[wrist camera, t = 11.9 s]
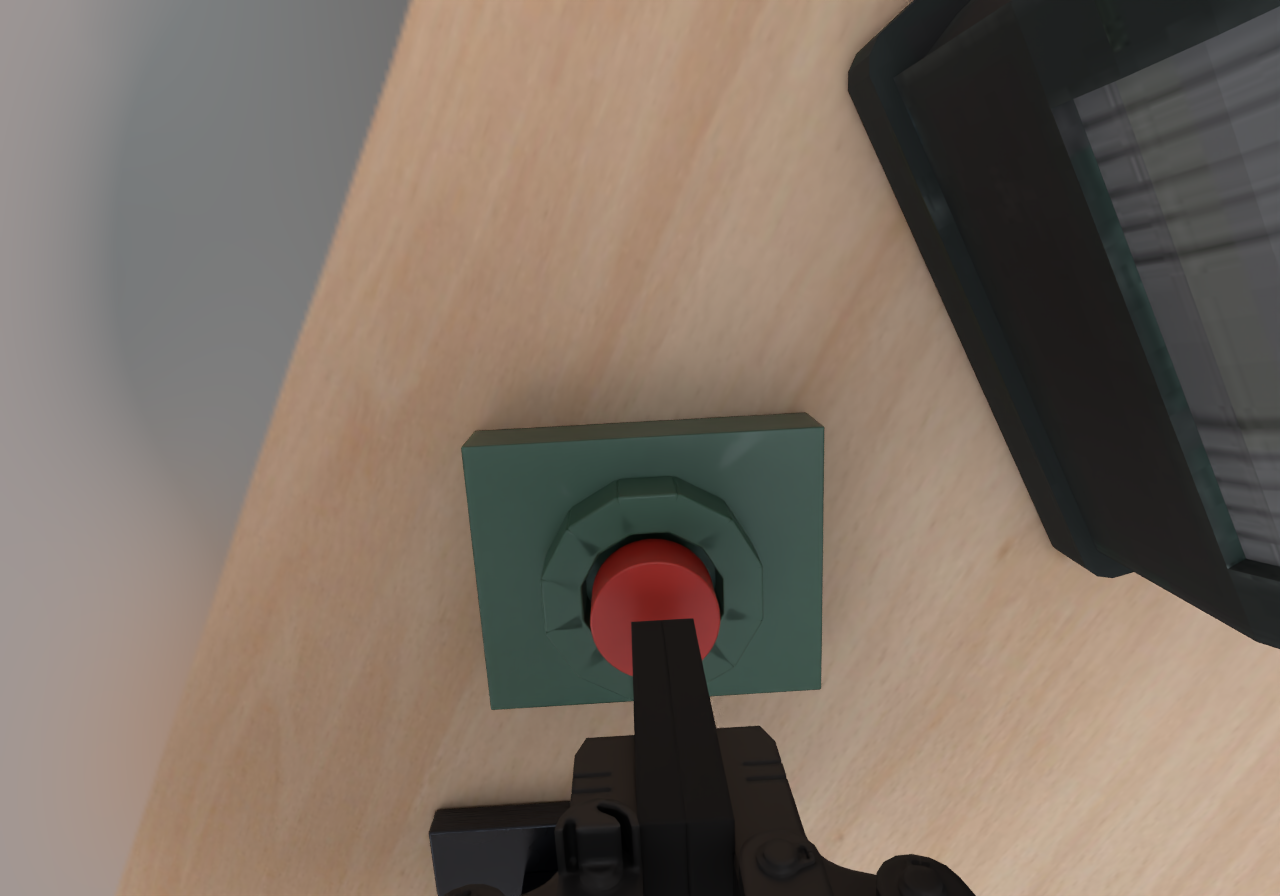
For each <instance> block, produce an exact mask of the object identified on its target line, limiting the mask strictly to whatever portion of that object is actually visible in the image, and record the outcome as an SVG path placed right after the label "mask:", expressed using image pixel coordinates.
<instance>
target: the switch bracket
mask: <svg viewBox="0 0 1280 896" xmlns="http://www.w3.org/2000/svg"><path fill="white" fill-rule="evenodd" d="M570 803H571V801H570V802H555V803H539V804H524V805H508V806H493V807H478V808H462V809H447V810H437V811H436V812H435V815H434V819H433V822H432V825H431V828H430V831H429V839H430V846H431V853H432V860H433V867H434V874H435V880H436V887H437V894H438V896H444V895H445V894H447V893H448V892H449V891H451V890H453V889H456V888H459V887H462V886H465V885H468V884H486V885H489V886H492V887H495V888H498V889H499V890H500V891H501V892H502V893H503V894H504V895H505V896H520V895H522V894H525V893H528V892H530V891H532V890H534V889H537V888H539V887H540V886H542V885H543V884H545V883H546V882H547V881H549V880H550V879H551V878H552V877H553V876H554V875H555V874H556V872H557V871H558V865H557V854H556V843H555V833H554V830H555V828H556V825H557V822H558V819H559V818H560V817H561V816H562V815H563V814H564V813H565V812H566V811H567V810H568V809H569V808H570Z"/></svg>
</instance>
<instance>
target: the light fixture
mask: <svg viewBox="0 0 1280 896" xmlns="http://www.w3.org/2000/svg"><path fill="white" fill-rule="evenodd" d="M848 91H849V94H850V96H851V98H852V100H853V102H854V105H855V107H856V109H857V111H858V114H859V116H860V118H861V120H862V122H863V125H864V127H865V129H866V131H867V134H868V136H869V138H870V140H871V143H872V145H873V147H874V149H875V151H876V154H877V156H878V158H879V160H880V163H881V165H882V167H883V169H884V171H885V174H886V176H887V178H888V180H889V183H890V185H891V187H892V189H893V191H894V194H895V196H896V198H897V200H898V203H899V205H900V207H901V209H902V212H903V214H904V216H905V218H906V220H907V223H908V225H909V227H910V229H911V232H912V234H913V236H914V238H915V240H916V243H917V245H918V247H919V249H920V252H921V254H922V256H923V258H924V260H925V263H926V265H927V267H928V269H929V272H930V274H931V276H932V278H933V281H934V283H935V285H936V287H937V289H938V292H939V294H940V296H941V298H942V301H943V303H944V305H945V307H946V309H947V312H948V314H949V316H950V318H951V321H952V323H953V325H954V327H955V329H956V332H957V334H958V336H959V338H960V341H961V343H962V345H963V347H964V350H965V352H966V354H967V356H968V358H969V361H970V363H971V365H972V367H973V370H974V372H975V374H976V376H977V378H978V381H979V383H980V385H981V387H982V390H983V392H984V394H985V396H986V398H987V401H988V403H989V405H990V407H991V410H992V412H993V414H994V416H995V419H996V421H997V423H998V425H999V427H1000V430H1001V432H1002V434H1003V436H1004V439H1005V441H1006V443H1007V445H1008V447H1009V450H1010V452H1011V454H1012V456H1013V459H1014V461H1015V463H1016V465H1017V467H1018V470H1019V472H1020V474H1021V476H1022V479H1023V481H1024V483H1025V485H1026V488H1027V490H1028V492H1029V494H1030V496H1031V499H1032V501H1033V503H1034V505H1035V508H1036V510H1037V512H1038V514H1039V516H1040V519H1041V521H1042V523H1043V525H1044V528H1045V530H1046V532H1047V534H1048V536H1049V539H1050V541H1051V543H1052V545H1053V547H1054V548H1056V549H1057V550H1059V551H1060V552H1062V553H1063V554H1064V555H1066V556H1067V557H1069V558H1070V559H1072V560H1074V561H1075V562H1077V563H1078V564H1080V565H1081V566H1083V567H1084V568H1086V569H1087V570H1089V571H1090V572H1092V573H1093V574H1095V575H1096V576H1100V577H1108V578H1115V577H1118V576H1122V575H1125V574H1129V573H1132V572H1135V573H1137V574H1139V575H1141V576H1142V577H1144V578H1146V579H1148V580H1149V581H1151V582H1153V583H1155V584H1156V585H1158V586H1160V587H1162V588H1163V589H1165V590H1167V591H1169V592H1170V593H1172V594H1174V595H1176V596H1177V597H1179V598H1181V599H1183V600H1184V601H1186V602H1188V603H1190V604H1192V605H1193V606H1195V607H1197V608H1199V609H1200V610H1202V611H1204V612H1206V613H1207V614H1209V615H1211V616H1213V617H1214V618H1216V619H1218V620H1220V621H1221V622H1223V623H1225V624H1227V625H1228V626H1230V627H1232V628H1234V629H1235V630H1237V631H1239V632H1241V633H1242V634H1244V635H1246V636H1248V637H1249V638H1251V639H1253V640H1255V641H1256V642H1259V643H1263V644H1266V645H1269V646H1272V647H1275V648H1278V649H1280V0H914V1H913V2H911V3H910V4H909V5H908V6H907V7H906V8H905V9H904V10H903V11H902V12H900V13H899V14H898V15H897V16H896V17H895V18H894V19H893V20H892V21H891V22H890V23H889V24H888V25H887V26H886V27H885V28H884V29H882V30H881V31H880V32H879V33H878V34H877V35H876V36H875V37H874V38H873V39H872V40H871V41H870V42H869V43H868V44H867V45H866V46H865V47H863V48H862V49H861V50H860V51H859V52H858V53H857V54H856V56H855V58H854V61H853V63H852V65H851V67H850V70H849V72H848Z"/></svg>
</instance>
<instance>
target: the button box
mask: <svg viewBox="0 0 1280 896" xmlns="http://www.w3.org/2000/svg"><path fill="white" fill-rule="evenodd" d="M461 451H462V460H463V469H464V477H465V486H466V495H467V503H468V512H469V521H470V530H471V538H472V547H473V556H474V565H475V573H476V582H477V591H478V600H479V608H480V617H481V626H482V634H483V643H484V652H485V661H486V669H487V678H488V687H489V696H490V704H491V709H492V710H498V709H514V708H530V707H546V706H562V705H578V704H594V703H610V702H626V701H634V699H633V676H630V675H628V674H625V673H623V672H621V671H620V670H618V669H617V668H615V667H614V666H612V665H611V664H610V663H609V662H608V661H607V660H606V659H605V658H604V657H603V656H602V655H601V653H600V652H599V650H598V648H597V647H596V645H595V642H594V640H593V637H592V633H591V627H590V614H591V601H592V589H593V583H594V580H595V577H596V575H597V572H598V570H599V569H600V567H601V565H602V564H603V563H604V562H605V560H606V559H607V558H608V557H609V556H610V555H611V554H612V553H614V552H615V551H616V550H618V549H619V548H621V547H623V546H625V545H627V544H629V543H632V542H635V541H639V540H644V539H664V540H669V541H673V542H675V543H678V544H681V545H682V546H684V547H686V548H688V549H689V550H691V551H692V552H693V553H694V554H695V555H697V556H698V557H699V558H700V560H701V561H702V562H703V564H704V565H705V567H706V568H707V570H708V572H709V575H710V577H711V581H712V584H713V587H714V591H715V594H716V598H717V601H718V605H719V609H720V628H719V633H718V636H717V639H716V641H715V643H714V645H713V647H712V649H711V650H710V652H709V653H708V655H707V656H706V657H705V658H704V659H703V660H702V663H703V668H704V673H705V678H706V682H707V687H708V692H709V696H723V695H739V694H755V693H771V692H787V691H803V690H819V689H821V659H822V577H823V495H824V427H823V426H822V425H821V424H820V423H818V422H817V421H816V420H815V419H813V418H812V417H811V416H810V415H808V414H807V413H791V414H773V415H755V416H737V417H719V418H701V419H683V420H665V421H647V422H629V423H612V424H594V425H576V426H558V427H540V428H522V429H504V430H486V431H475V432H474V433H473V434H472V435H471V437H470V438H469V439H468V440H467V441H466V443H465V444H464V445H463V446H462V448H461Z"/></svg>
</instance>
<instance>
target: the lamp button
mask: <svg viewBox="0 0 1280 896" xmlns="http://www.w3.org/2000/svg"><path fill="white" fill-rule="evenodd" d="M688 618H693V619H694V624H695V629H696V634H697V639H698V644H699V648H700V653H701V658H702V660H703V659H704V658H705V657H706V656H707V655H708V653H709V652H710V650H711V649H712V647H713V645H714V643H715V641H716V639H717V636H718V633H719V628H720V609H719V605H718V601H717V598H716V594H715V591H714V587H713V584H712V581H711V577H710V575H709V572H708V570H707V568H706V567H705V565H704V564H703V562H702V561H701V560H700V558H699V557H698V556H697V555H695V554H694V553H693V552H692V551H691V550H689V549H688V548H686V547H684V546H682V545H681V544H678V543H675V542H673V541H669V540H664V539H644V540H639V541H635V542H632V543H629V544H627V545H625V546H623V547H621V548H619V549H618V550H616V551H615V552H614V553H612V554H611V555H610V556H609V557H608V558H607V559H606V560H605V562H604V563H603V564H602V565H601V567H600V569H599V570H598V572H597V575H596V577H595V580H594V583H593V589H592V601H591V614H590V627H591V633H592V637H593V640H594V642H595V645H596V647H597V648H598V650H599V652H600V653H601V655H602V656H603V657H604V658H605V659H606V660H607V661H608V662H609V663H610V664H611V665H612V666H614V667H615V668H617V669H618V670H620V671H621V672H623V673H625V674H628V675H630V676H633V666H632V634H631V622H636V621H654V620H671V619H688Z"/></svg>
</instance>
